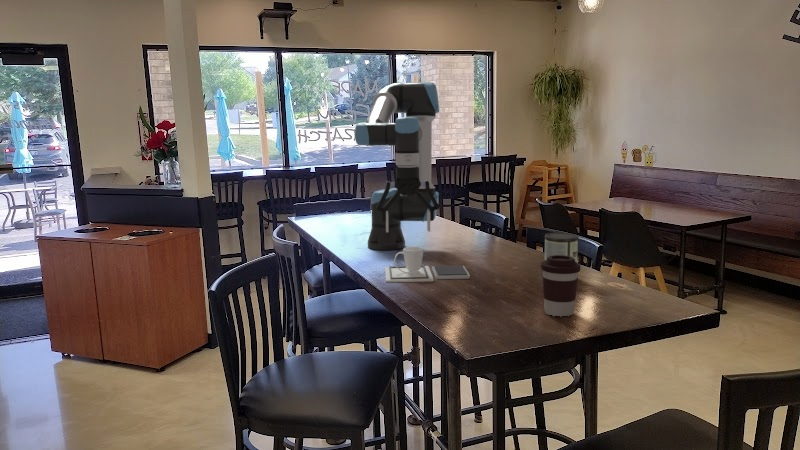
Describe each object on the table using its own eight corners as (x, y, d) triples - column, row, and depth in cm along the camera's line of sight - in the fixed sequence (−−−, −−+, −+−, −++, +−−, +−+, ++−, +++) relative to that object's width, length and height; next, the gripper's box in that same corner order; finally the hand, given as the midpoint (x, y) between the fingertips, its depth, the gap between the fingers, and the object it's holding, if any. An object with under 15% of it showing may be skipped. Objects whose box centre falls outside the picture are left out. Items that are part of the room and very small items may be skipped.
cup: (426, 274, 196) (426, 250, 195) (396, 276, 195) (395, 251, 193) (421, 269, 203) (421, 245, 202) (392, 270, 201) (392, 247, 200)
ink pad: (431, 269, 206) (431, 265, 205) (463, 268, 206) (463, 264, 206) (435, 279, 193) (435, 275, 193) (470, 278, 193) (470, 274, 193)
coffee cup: (534, 308, 163) (536, 254, 160) (570, 306, 163) (572, 252, 161) (546, 320, 153) (548, 262, 150) (584, 318, 154) (586, 261, 151)
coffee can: (545, 273, 199) (546, 231, 196) (577, 276, 195) (579, 233, 193) (541, 281, 189) (543, 237, 187) (575, 284, 186) (577, 239, 183)
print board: (384, 268, 207) (384, 265, 207) (428, 267, 208) (428, 264, 208) (386, 282, 190) (386, 279, 189) (433, 281, 190) (433, 278, 190)
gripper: (368, 167, 188) (369, 234, 192) (447, 166, 189) (447, 232, 194) (368, 165, 196) (369, 229, 200) (444, 164, 197) (444, 227, 201)
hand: (408, 231), depth 197 cm, fingers open, 13 cm apart
